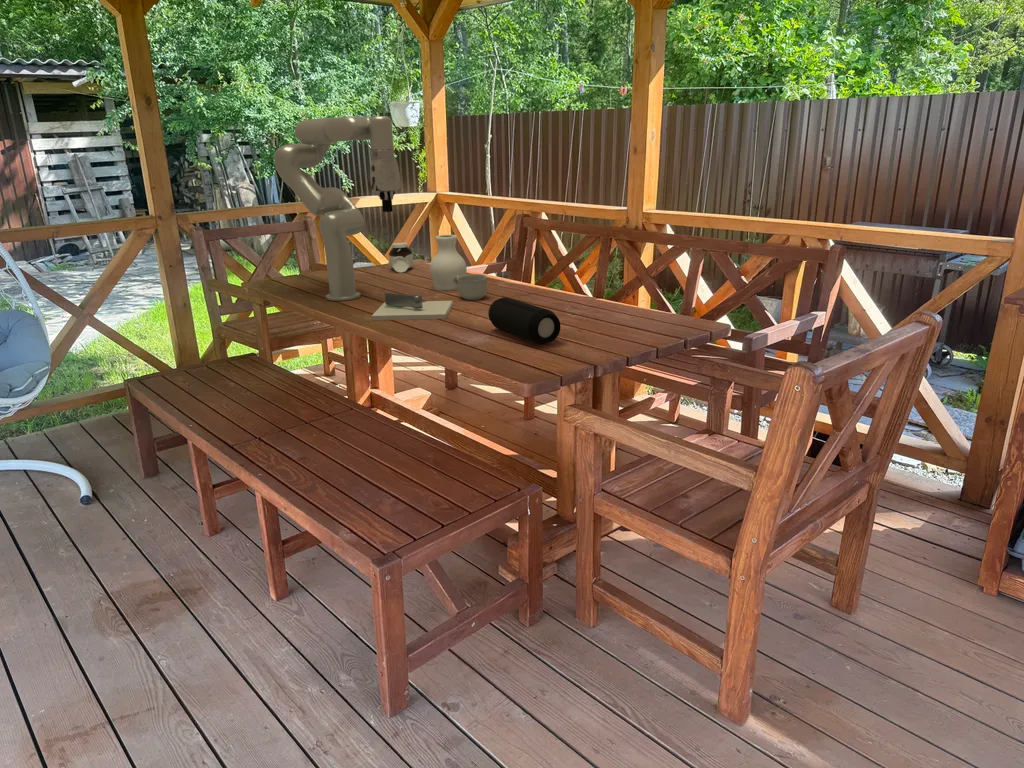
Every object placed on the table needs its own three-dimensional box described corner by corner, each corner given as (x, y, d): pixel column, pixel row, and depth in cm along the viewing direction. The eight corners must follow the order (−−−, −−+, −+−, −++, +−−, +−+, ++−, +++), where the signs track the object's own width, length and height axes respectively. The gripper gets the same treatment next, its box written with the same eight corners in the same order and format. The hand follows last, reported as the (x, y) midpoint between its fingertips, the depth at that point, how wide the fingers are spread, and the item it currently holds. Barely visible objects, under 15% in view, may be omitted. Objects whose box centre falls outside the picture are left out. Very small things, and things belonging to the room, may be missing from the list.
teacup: (493, 298, 263) (492, 276, 260) (470, 303, 256) (469, 280, 254) (470, 292, 273) (469, 271, 270) (446, 297, 266) (445, 275, 264)
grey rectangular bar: (383, 305, 247) (382, 293, 245) (389, 303, 249) (388, 291, 248) (418, 309, 240) (417, 297, 239) (424, 306, 242) (423, 295, 241)
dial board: (384, 306, 256) (384, 301, 255) (452, 304, 254) (452, 299, 254) (372, 320, 237) (371, 314, 236) (445, 318, 236) (445, 313, 235)
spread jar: (406, 267, 330) (404, 241, 326) (420, 270, 322) (418, 243, 318) (383, 271, 323) (381, 244, 319) (397, 274, 314) (395, 247, 311)
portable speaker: (563, 343, 205) (563, 308, 202) (534, 349, 200) (533, 313, 197) (513, 325, 225) (512, 293, 222) (486, 330, 220) (484, 298, 217)
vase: (466, 291, 276) (463, 237, 269) (428, 292, 276) (424, 239, 270) (469, 283, 290) (466, 232, 283) (433, 284, 290) (429, 233, 283)
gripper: (373, 156, 235) (378, 214, 241) (406, 154, 246) (411, 209, 252) (358, 156, 239) (363, 213, 245) (391, 154, 251) (395, 209, 257)
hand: (387, 211), depth 249 cm, fingers closed
